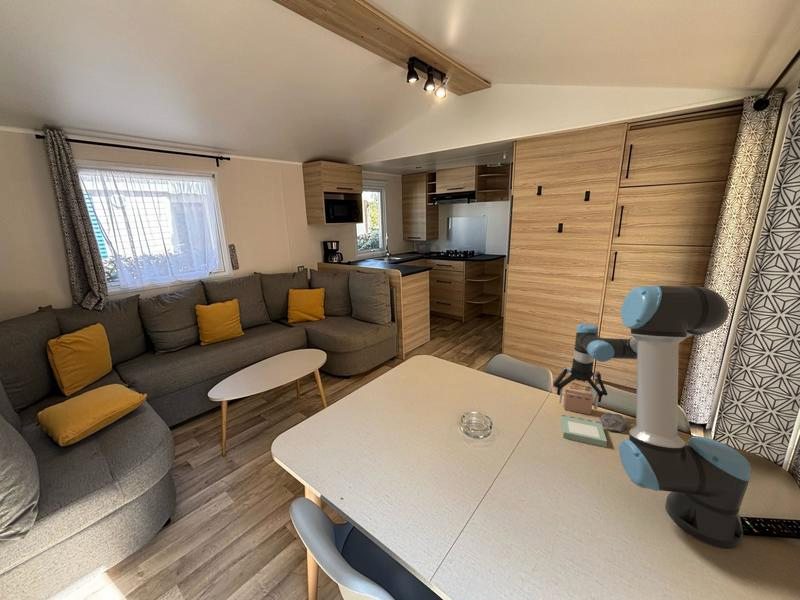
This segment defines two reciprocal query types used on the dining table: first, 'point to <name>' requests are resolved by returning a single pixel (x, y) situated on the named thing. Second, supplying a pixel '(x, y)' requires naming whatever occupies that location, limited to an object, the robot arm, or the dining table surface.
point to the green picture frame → (583, 430)
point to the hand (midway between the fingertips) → (577, 404)
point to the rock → (614, 422)
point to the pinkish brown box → (578, 401)
